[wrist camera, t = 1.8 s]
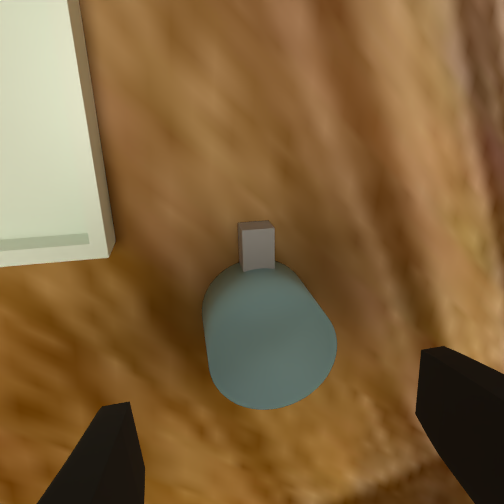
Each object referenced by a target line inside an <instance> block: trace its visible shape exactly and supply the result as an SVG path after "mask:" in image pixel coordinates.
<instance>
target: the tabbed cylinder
mask: <svg viewBox="0 0 504 504" xmlns="http://www.w3.org/2000/svg"><path fill="white" fill-rule="evenodd" d="M238 241H239V263H236V264H234V265H232V266H230V267H228V268H227V269H225V270H224V271H223V272H221V273H220V274H219V275H218V276H217V277H216V278H215V279H214V280H213V282H212V283H211V284H210V286H209V288H208V289H207V291H206V294H205V296H204V300H203V304H202V318H203V326H204V334H205V341H206V349H207V356H208V364H209V370H210V374H211V377H212V380H213V382H214V384H215V386H216V387H217V388H218V390H219V391H220V392H221V393H222V394H223V395H224V396H225V397H226V398H228V399H229V400H231V401H232V402H234V403H236V404H238V405H241V406H243V407H247V408H251V409H263V410H267V409H276V408H281V407H285V406H288V405H291V404H293V403H295V402H298V401H300V400H301V399H303V398H305V397H306V396H308V395H309V394H311V393H312V392H313V391H314V390H315V389H317V388H318V387H319V386H320V384H321V383H322V382H323V381H324V380H325V378H326V377H327V376H328V374H329V372H330V370H331V368H332V366H333V364H334V361H335V357H336V351H337V339H336V333H335V330H334V327H333V325H332V323H331V321H330V320H329V318H328V317H327V316H326V314H325V313H324V312H323V310H322V309H321V307H320V306H319V305H318V303H317V302H316V301H315V299H314V298H313V296H312V295H311V294H310V292H309V291H308V290H307V288H306V287H305V285H304V284H303V283H302V281H301V280H300V279H299V277H298V276H297V275H296V274H295V273H294V272H293V271H292V270H291V269H290V268H288V267H287V266H285V265H283V264H282V263H279V262H276V261H275V228H274V227H273V226H272V224H271V223H270V222H269V221H255V222H242V223H238Z"/></svg>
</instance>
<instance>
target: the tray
mask: <svg viewBox="0 0 504 504" xmlns="http://www.w3.org/2000/svg"><path fill="white" fill-rule="evenodd" d="M115 242H116V239H115V232H114V226H113V219H112V213H111V206H110V200H109V193H108V187H107V180H106V174H105V167H104V161H103V154H102V148H101V141H100V135H99V128H98V122H97V115H96V109H95V102H94V96H93V89H92V83H91V76H90V70H89V63H88V57H87V50H86V44H85V37H84V31H83V24H82V18H81V11H80V5H79V0H0V267H5V266H17V265H28V264H40V263H52V262H63V261H75V260H87V259H98V258H109V256H110V254H111V251H112V249H113V247H114V244H115Z"/></svg>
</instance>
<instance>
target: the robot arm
mask: <svg viewBox="0 0 504 504" xmlns="http://www.w3.org/2000/svg"><path fill="white" fill-rule="evenodd" d="M415 414H416V416H417V418H418V420H419V421H420V423H421V425H422V427H423V429H424V430H425V432H426V434H427V436H428V437H429V439H430V441H431V443H432V444H433V446H434V448H435V449H436V451H437V453H438V454H439V455H440V457H441V458H442V460H443V461H444V462H445V464H446V465H447V466H448V468H449V469H450V471H451V472H452V473H453V475H454V476H455V477H456V479H457V480H458V481H459V483H460V484H461V486H462V487H463V488H464V490H465V491H466V492H467V494H468V495H469V496H470V498H471V499H472V500H473V502H474V503H475V504H504V374H502V373H500V372H498V371H496V370H494V369H492V368H490V367H488V366H486V365H484V364H482V363H480V362H478V361H476V360H474V359H471V358H469V357H467V356H465V355H463V354H461V353H459V352H456V351H454V350H452V349H449V348H447V347H445V346H441V347H435V348H430V349H424V350H421V359H420V369H419V380H418V391H417V402H416V412H415ZM144 490H145V466H144V462H143V457H142V453H141V449H140V444H139V440H138V436H137V431H136V427H135V423H134V419H133V414H132V410H131V406H130V402H125V403H119V404H113V405H108V406H102V407H101V409H100V410H99V411H98V412H97V414H96V415H95V417H94V419H93V420H92V422H91V423H90V425H89V427H88V428H87V430H86V431H85V433H84V435H83V436H82V438H81V439H80V441H79V442H78V444H77V445H76V447H75V449H74V450H73V452H72V453H71V455H70V456H69V458H68V459H67V461H66V462H65V464H64V465H63V467H62V468H61V470H60V471H59V472H58V474H57V475H56V477H55V478H54V480H53V481H52V483H51V484H50V486H49V487H48V488H47V490H46V491H45V493H44V494H43V496H42V497H41V498H40V500H39V501H38V503H37V504H144Z"/></svg>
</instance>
